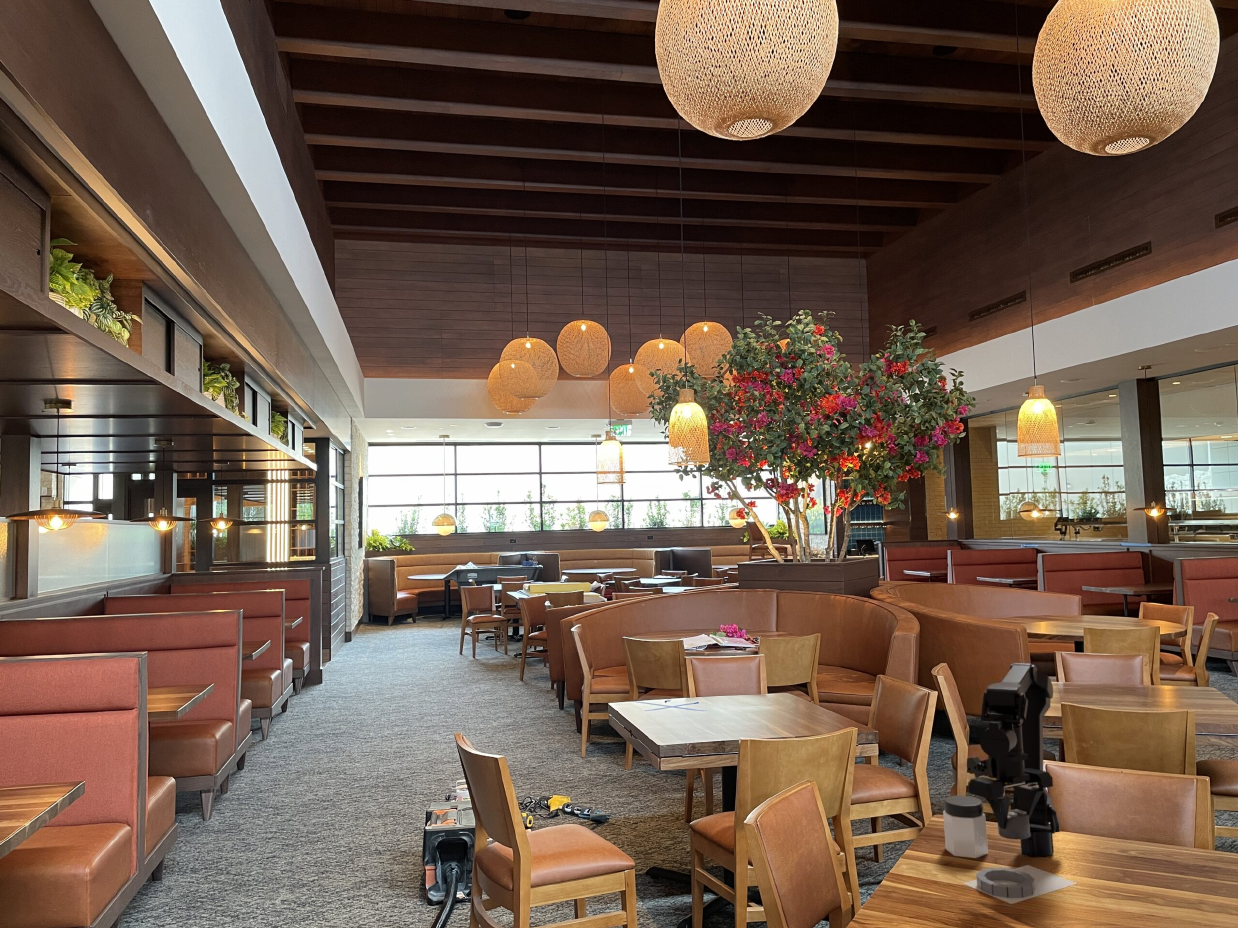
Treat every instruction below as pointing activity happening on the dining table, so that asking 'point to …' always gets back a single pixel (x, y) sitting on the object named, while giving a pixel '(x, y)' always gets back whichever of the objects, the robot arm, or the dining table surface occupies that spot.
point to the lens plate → (1017, 883)
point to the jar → (965, 826)
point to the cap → (1016, 825)
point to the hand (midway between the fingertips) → (1013, 825)
